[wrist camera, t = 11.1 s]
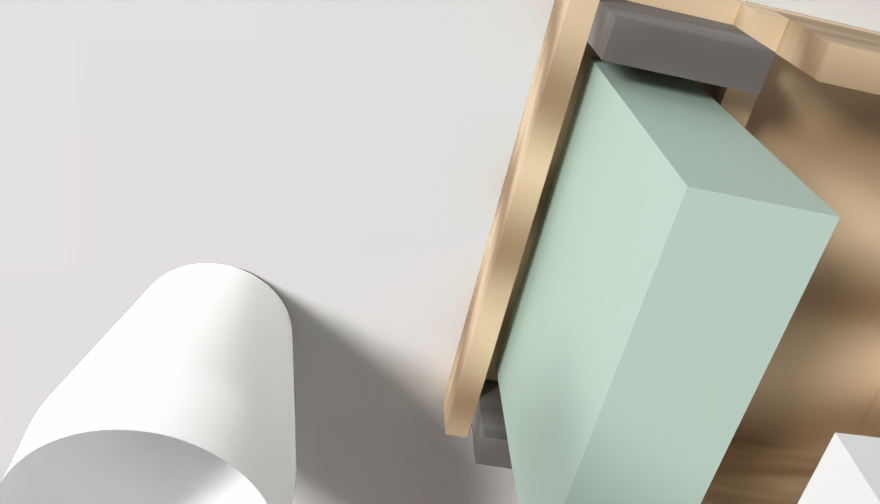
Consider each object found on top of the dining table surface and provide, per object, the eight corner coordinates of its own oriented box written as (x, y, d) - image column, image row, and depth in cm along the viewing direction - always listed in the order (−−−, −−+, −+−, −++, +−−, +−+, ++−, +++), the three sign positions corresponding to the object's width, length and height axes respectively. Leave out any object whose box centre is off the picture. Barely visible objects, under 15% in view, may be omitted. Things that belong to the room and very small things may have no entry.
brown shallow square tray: (566, -41, 30) (599, -11, 25) (1068, 76, 32) (1193, 126, 27) (443, 401, 39) (448, 491, 34) (844, 465, 41) (906, 557, 36)
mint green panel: (590, 57, 31) (687, 186, 20) (693, 79, 31) (842, 217, 21) (495, 365, 37) (531, 588, 26) (583, 379, 37) (652, 604, 27)
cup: (351, 280, 36) (327, 480, 25) (279, 434, 39) (232, 664, 29) (141, 203, 34) (18, 383, 23) (87, 372, 37) (-41, 595, 27)
